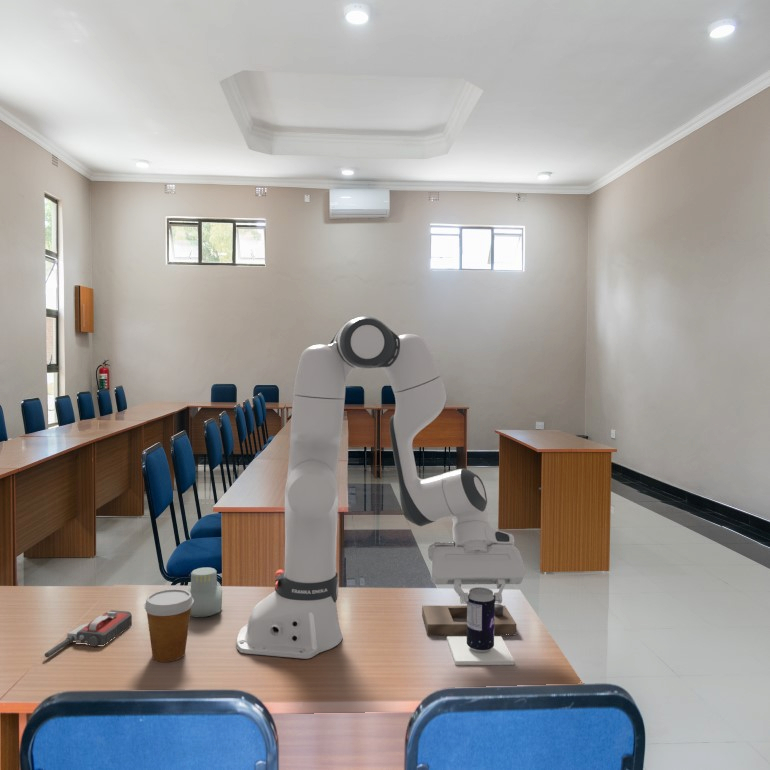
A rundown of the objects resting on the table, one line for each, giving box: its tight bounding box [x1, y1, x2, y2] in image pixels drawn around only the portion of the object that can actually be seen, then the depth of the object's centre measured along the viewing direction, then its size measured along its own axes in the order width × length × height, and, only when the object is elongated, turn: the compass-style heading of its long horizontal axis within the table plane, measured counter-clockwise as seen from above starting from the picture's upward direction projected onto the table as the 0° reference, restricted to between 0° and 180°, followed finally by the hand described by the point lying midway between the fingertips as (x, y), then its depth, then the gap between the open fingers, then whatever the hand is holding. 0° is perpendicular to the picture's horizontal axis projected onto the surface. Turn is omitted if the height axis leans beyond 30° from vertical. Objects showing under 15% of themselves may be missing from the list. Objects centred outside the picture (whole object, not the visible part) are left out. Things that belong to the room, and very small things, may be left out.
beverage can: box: [466, 587, 496, 653], centre depth 129 cm, size 6×6×12 cm
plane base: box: [421, 603, 517, 636], centre depth 142 cm, size 20×10×4 cm, turn 93°
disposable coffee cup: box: [143, 588, 194, 663], centre depth 125 cm, size 10×10×12 cm
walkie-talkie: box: [44, 609, 133, 658], centre depth 131 cm, size 9×4×20 cm
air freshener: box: [186, 566, 223, 618], centre depth 146 cm, size 11×8×10 cm
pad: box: [446, 635, 515, 666], centre depth 129 cm, size 12×11×1 cm
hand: (481, 602), depth 128 cm, fingers closed on beverage can, 6 cm apart
